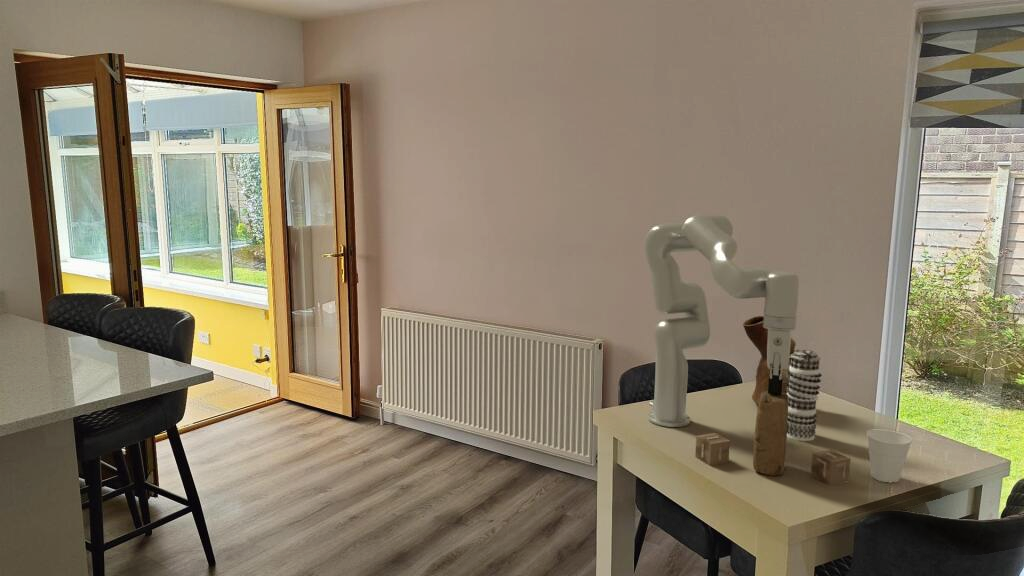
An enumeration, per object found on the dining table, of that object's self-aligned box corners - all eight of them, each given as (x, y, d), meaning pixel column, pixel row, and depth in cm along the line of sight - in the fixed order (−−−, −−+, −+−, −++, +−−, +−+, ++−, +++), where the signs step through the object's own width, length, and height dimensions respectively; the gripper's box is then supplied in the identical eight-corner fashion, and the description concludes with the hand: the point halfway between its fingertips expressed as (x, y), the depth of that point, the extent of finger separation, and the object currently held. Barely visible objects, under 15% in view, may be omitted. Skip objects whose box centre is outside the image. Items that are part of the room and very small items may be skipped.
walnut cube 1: (694, 457, 183) (696, 435, 182) (713, 454, 185) (714, 432, 184) (709, 466, 177) (711, 443, 176) (728, 462, 179) (730, 440, 178)
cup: (888, 489, 164) (893, 446, 162) (853, 473, 173) (857, 432, 171) (917, 483, 168) (921, 440, 166) (881, 467, 177) (885, 426, 175)
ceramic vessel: (814, 415, 216) (822, 322, 211) (744, 414, 216) (751, 321, 212) (795, 399, 231) (802, 312, 227) (730, 398, 232) (735, 311, 227)
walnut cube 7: (810, 475, 172) (812, 452, 171) (828, 472, 174) (830, 449, 173) (830, 486, 166) (832, 461, 165) (848, 482, 169) (851, 458, 168)
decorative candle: (800, 443, 193) (807, 357, 189) (775, 432, 201) (781, 349, 197) (823, 438, 197) (830, 353, 193) (797, 428, 205) (804, 346, 201)
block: (782, 479, 169) (788, 401, 166) (750, 473, 173) (755, 397, 169) (786, 463, 179) (792, 389, 176) (756, 458, 182) (761, 385, 179)
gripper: (795, 329, 161) (790, 404, 164) (796, 318, 175) (791, 387, 178) (761, 326, 164) (757, 400, 167) (764, 315, 178) (760, 384, 181)
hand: (774, 393), depth 172 cm, fingers closed
